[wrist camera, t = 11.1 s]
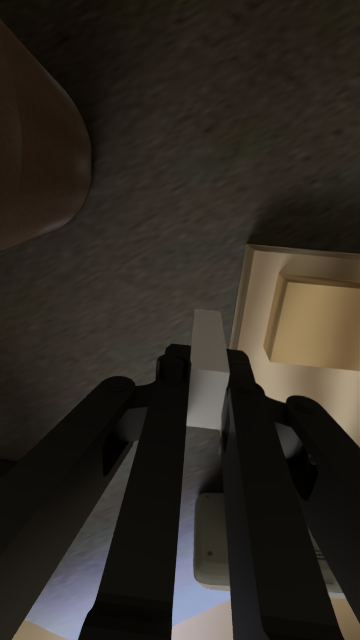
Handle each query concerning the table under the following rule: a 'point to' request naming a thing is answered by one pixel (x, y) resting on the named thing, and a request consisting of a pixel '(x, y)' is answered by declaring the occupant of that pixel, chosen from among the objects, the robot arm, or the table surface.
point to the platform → (252, 319)
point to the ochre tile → (314, 323)
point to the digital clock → (214, 551)
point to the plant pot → (37, 148)
